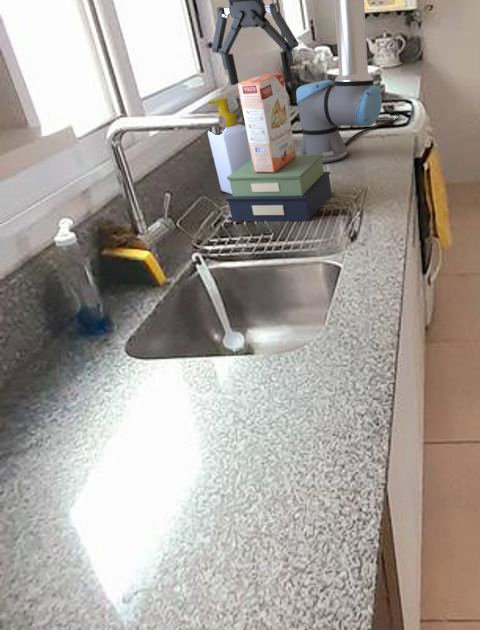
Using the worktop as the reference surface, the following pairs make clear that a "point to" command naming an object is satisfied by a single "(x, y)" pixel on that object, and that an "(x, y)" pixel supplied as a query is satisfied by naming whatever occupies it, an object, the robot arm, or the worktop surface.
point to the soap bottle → (229, 145)
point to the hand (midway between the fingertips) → (261, 83)
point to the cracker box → (267, 122)
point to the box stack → (279, 191)
